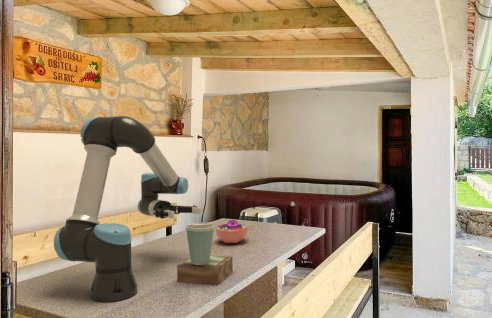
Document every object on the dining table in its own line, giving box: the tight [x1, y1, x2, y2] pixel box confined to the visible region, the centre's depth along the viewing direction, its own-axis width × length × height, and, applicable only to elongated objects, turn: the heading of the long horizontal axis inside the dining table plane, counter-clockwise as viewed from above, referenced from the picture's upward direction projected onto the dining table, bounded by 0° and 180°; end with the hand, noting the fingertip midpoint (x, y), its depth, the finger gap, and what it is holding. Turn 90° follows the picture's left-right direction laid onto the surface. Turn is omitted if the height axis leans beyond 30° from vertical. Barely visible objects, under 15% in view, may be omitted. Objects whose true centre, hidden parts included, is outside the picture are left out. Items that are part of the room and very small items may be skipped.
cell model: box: [215, 219, 248, 244], centre depth 210 cm, size 17×20×11 cm
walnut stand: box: [176, 254, 234, 286], centre depth 153 cm, size 16×16×6 cm
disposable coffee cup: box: [185, 222, 216, 265], centre depth 149 cm, size 11×11×15 cm
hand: (188, 213), depth 162 cm, fingers open, 13 cm apart
